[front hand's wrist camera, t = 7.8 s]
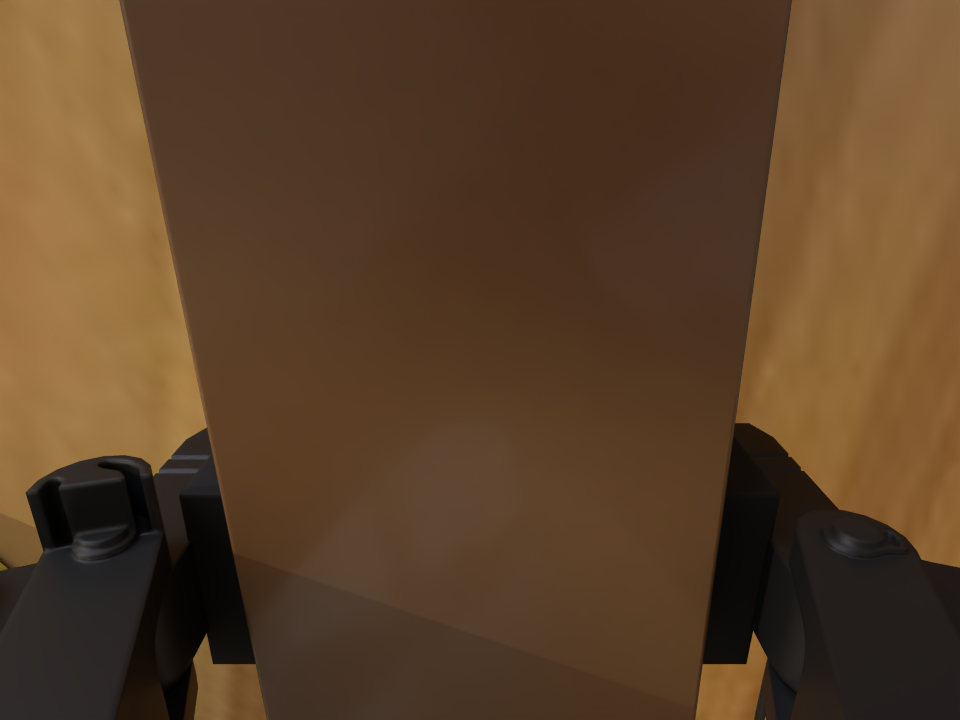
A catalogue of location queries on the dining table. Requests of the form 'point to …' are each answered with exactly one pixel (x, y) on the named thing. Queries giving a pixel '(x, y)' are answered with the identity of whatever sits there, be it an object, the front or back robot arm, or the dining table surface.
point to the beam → (467, 333)
